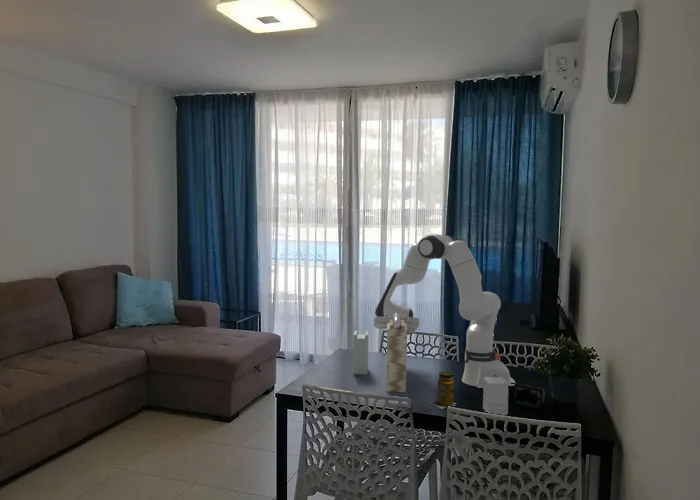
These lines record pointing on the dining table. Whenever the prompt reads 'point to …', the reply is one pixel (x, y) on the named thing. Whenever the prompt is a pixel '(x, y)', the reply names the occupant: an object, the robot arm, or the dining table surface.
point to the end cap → (529, 394)
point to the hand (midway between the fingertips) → (396, 317)
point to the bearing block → (396, 357)
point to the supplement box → (495, 395)
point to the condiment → (445, 390)
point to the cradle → (360, 353)
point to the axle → (396, 321)
